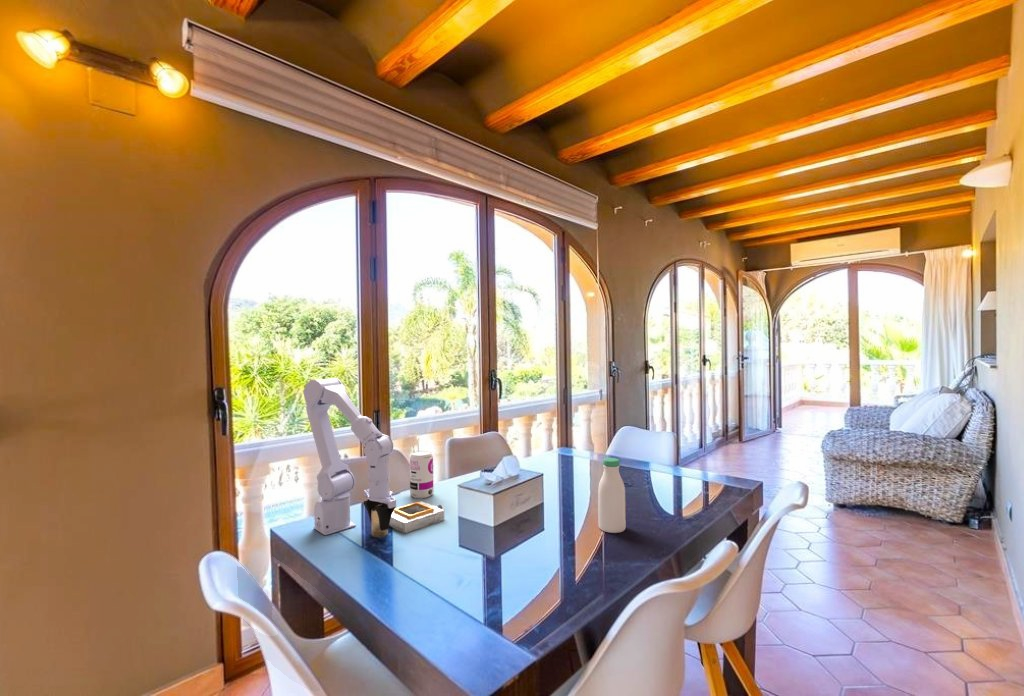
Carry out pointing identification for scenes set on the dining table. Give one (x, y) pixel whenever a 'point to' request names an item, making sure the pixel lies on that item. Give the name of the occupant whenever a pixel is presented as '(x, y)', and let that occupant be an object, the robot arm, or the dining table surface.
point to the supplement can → (421, 474)
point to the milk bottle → (611, 498)
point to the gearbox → (415, 516)
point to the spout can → (376, 524)
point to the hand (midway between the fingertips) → (379, 527)
